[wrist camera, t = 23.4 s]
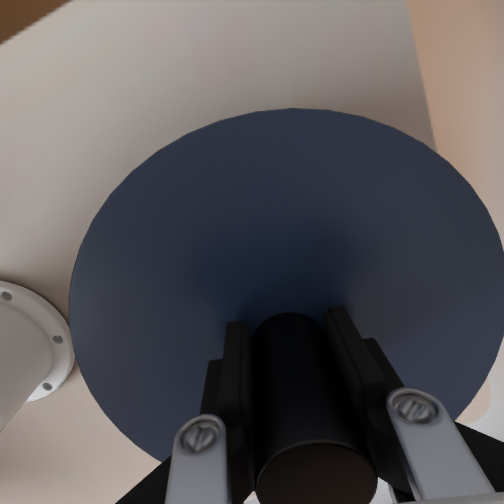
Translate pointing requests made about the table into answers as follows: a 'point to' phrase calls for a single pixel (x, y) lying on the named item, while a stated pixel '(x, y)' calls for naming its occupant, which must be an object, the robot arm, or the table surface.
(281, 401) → the pot lid
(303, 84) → the table surface
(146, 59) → the table surface
